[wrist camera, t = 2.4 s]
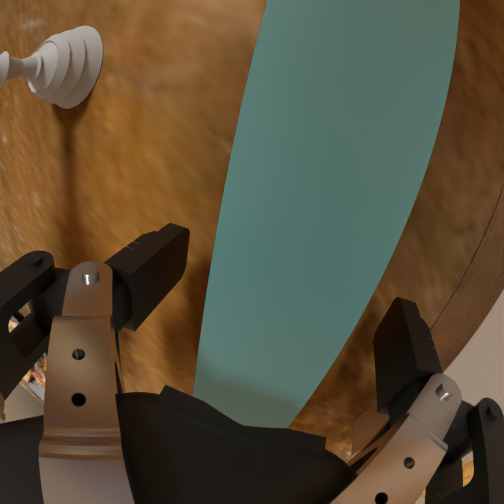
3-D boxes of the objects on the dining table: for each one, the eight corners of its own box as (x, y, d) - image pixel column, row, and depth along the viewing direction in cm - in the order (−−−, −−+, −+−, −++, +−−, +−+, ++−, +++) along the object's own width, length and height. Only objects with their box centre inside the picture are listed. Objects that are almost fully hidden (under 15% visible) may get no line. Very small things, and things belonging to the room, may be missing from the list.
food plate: (87, 429, 37) (77, 442, 34) (0, 340, 35) (-12, 350, 32) (120, 397, 26) (104, 419, 22) (-9, 255, 23) (-29, 267, 20)
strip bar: (307, 12, 8) (284, -60, 3) (408, 42, 7) (460, -6, 3) (219, 374, 17) (188, 440, 13) (278, 394, 17) (257, 463, 12)
